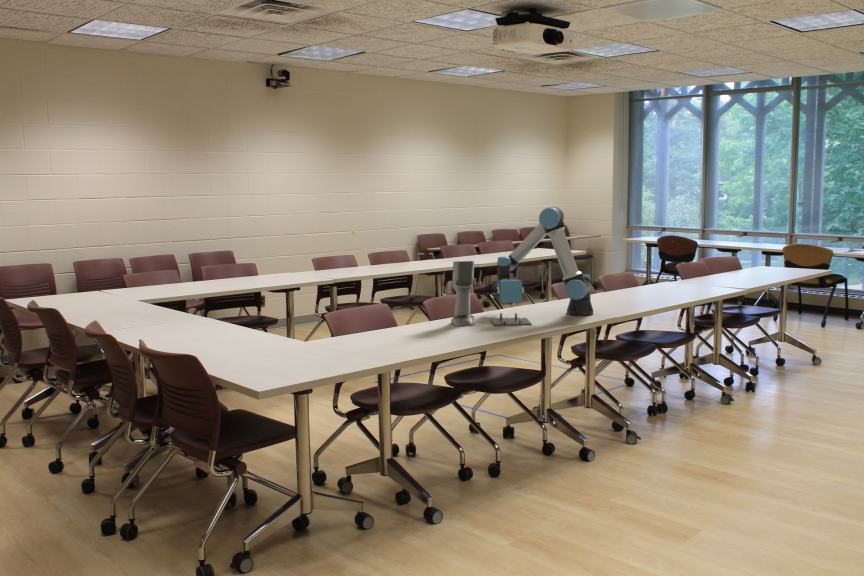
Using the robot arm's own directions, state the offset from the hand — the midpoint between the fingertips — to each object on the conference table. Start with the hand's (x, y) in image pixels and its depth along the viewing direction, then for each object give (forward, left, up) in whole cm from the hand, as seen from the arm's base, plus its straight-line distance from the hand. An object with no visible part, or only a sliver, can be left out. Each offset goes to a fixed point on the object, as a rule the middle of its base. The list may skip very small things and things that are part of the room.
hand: (511, 291), depth 393 cm
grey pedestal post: (+26, -2, -18) cm, 32 cm away
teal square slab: (0, -3, -7) cm, 7 cm away
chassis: (0, -3, -18) cm, 18 cm away
